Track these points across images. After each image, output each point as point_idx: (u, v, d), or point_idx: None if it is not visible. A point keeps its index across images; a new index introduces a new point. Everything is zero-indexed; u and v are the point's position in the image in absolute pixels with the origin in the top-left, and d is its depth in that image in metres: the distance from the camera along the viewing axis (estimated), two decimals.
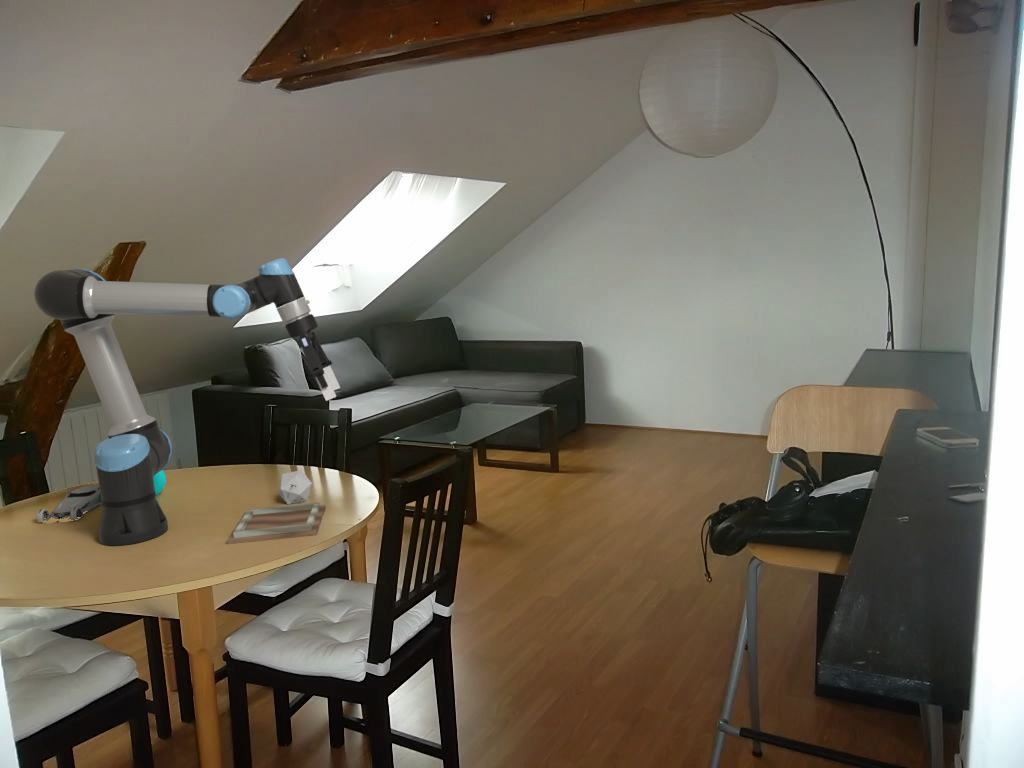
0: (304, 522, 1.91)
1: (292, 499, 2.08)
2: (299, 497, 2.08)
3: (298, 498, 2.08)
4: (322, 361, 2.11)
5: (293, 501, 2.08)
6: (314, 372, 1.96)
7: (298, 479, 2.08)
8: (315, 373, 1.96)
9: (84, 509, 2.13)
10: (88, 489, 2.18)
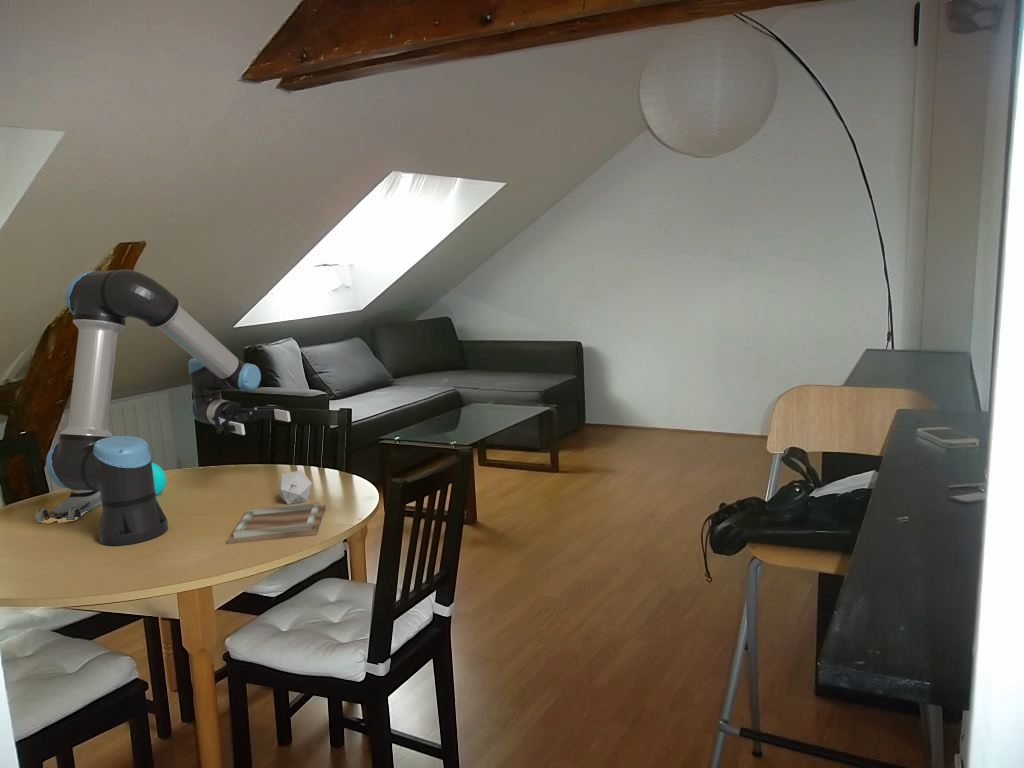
0: (304, 522, 1.91)
1: (292, 499, 2.08)
2: (299, 497, 2.08)
3: (298, 498, 2.08)
4: None
5: (293, 501, 2.08)
6: None
7: (298, 479, 2.08)
8: (283, 409, 2.24)
9: (84, 509, 2.13)
10: None
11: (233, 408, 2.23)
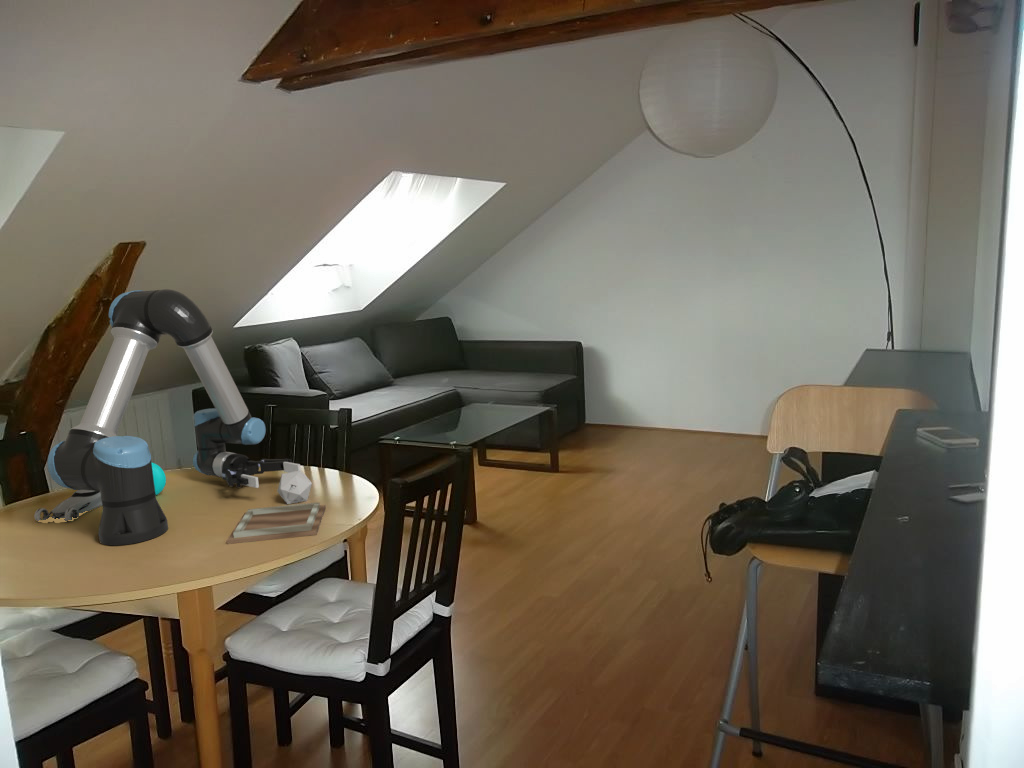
0: (304, 522, 1.91)
1: (292, 499, 2.08)
2: (299, 497, 2.08)
3: (298, 498, 2.08)
4: None
5: (293, 501, 2.08)
6: None
7: (298, 479, 2.08)
8: None
9: (83, 509, 2.13)
10: (91, 490, 2.18)
11: (241, 461, 2.26)
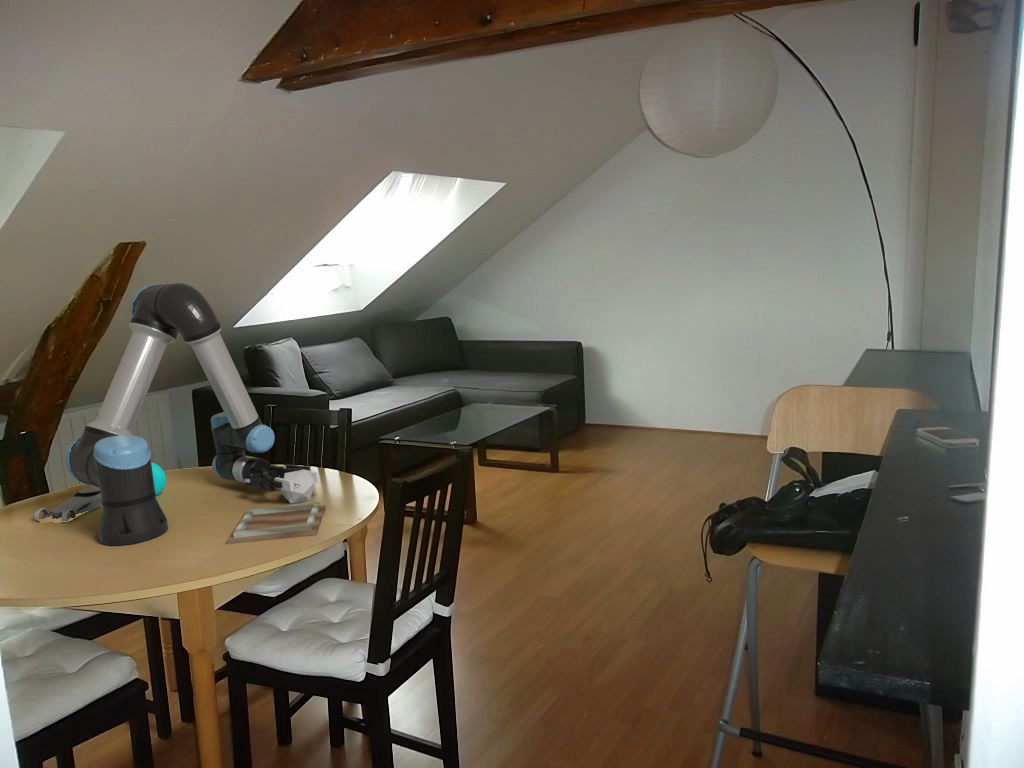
0: (304, 522, 1.91)
1: (295, 498, 2.08)
2: (302, 496, 2.08)
3: (301, 497, 2.09)
4: None
5: (296, 500, 2.09)
6: None
7: (301, 478, 2.08)
8: None
9: (82, 510, 2.12)
10: (93, 490, 2.18)
11: (261, 465, 2.19)
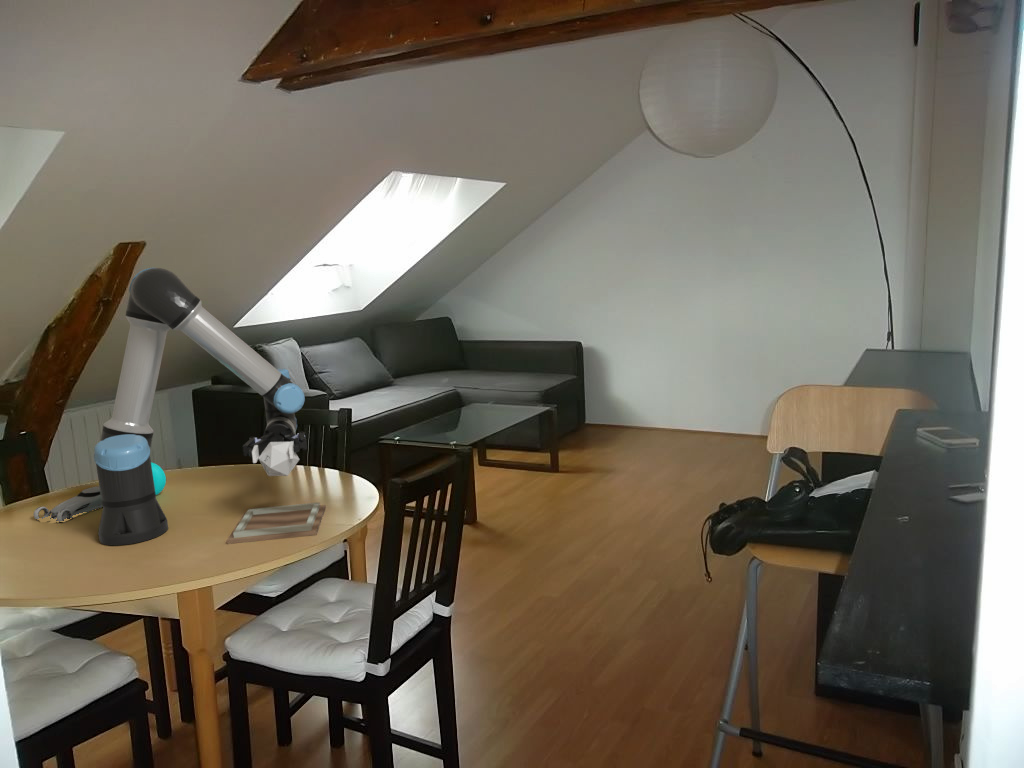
0: (304, 522, 1.91)
1: (268, 471, 1.90)
2: (273, 470, 1.89)
3: (273, 471, 1.90)
4: (259, 448, 1.95)
5: (271, 473, 1.91)
6: None
7: (274, 451, 1.89)
8: (306, 442, 1.96)
9: (81, 510, 2.12)
10: (95, 490, 2.17)
11: (279, 429, 2.05)
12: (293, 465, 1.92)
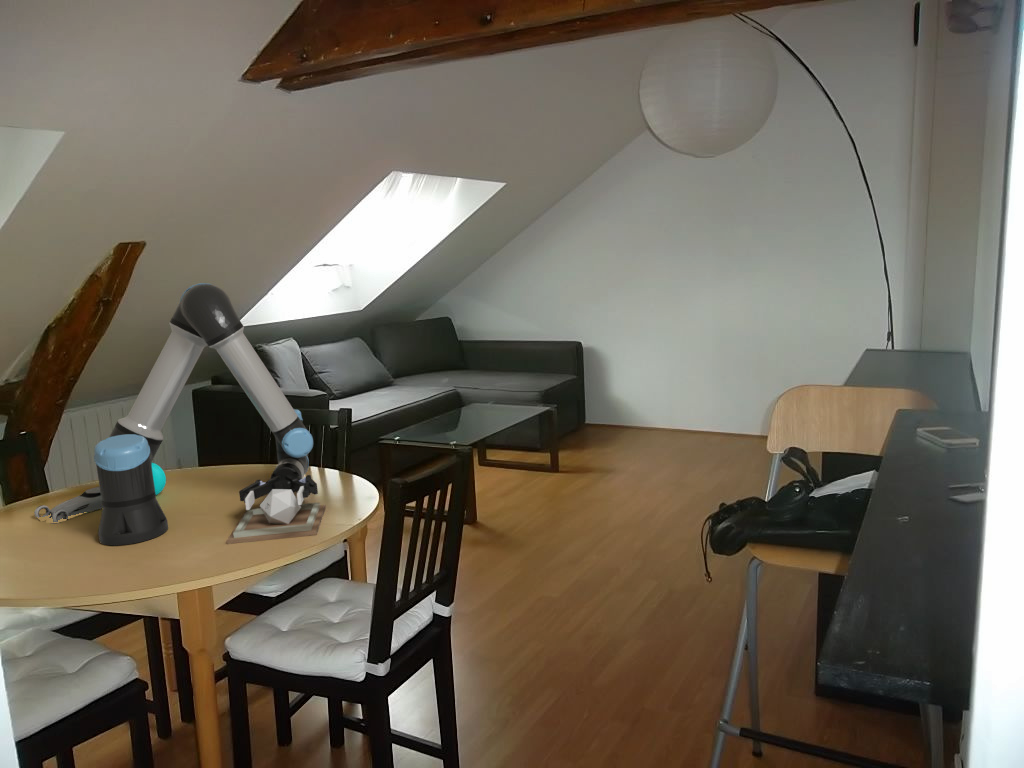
0: (304, 522, 1.91)
1: (269, 519, 1.90)
2: (273, 519, 1.89)
3: (274, 519, 1.89)
4: (257, 493, 1.96)
5: (272, 521, 1.91)
6: None
7: (274, 499, 1.89)
8: (316, 487, 1.96)
9: (80, 511, 2.12)
10: (96, 491, 2.17)
11: (285, 473, 2.05)
12: (294, 513, 1.92)
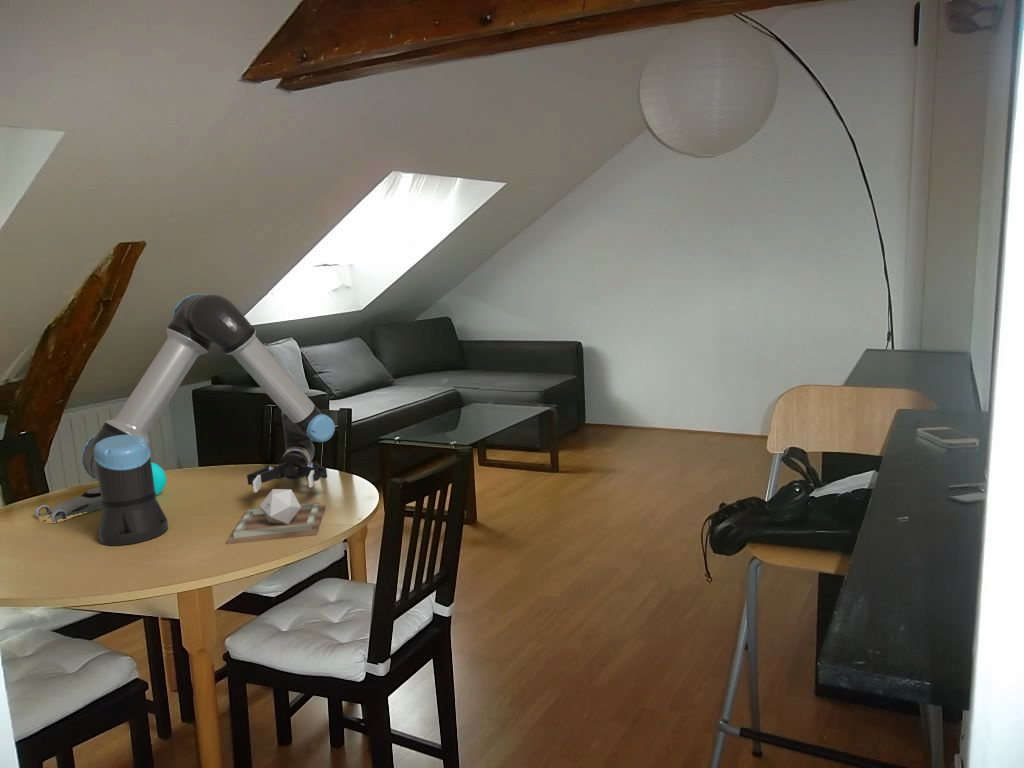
0: (304, 522, 1.91)
1: (269, 519, 1.90)
2: (273, 519, 1.89)
3: (274, 519, 1.89)
4: (264, 478, 2.09)
5: (272, 521, 1.91)
6: (326, 470, 2.10)
7: (274, 499, 1.89)
8: (326, 471, 2.10)
9: (79, 511, 2.12)
10: (97, 491, 2.17)
11: (293, 459, 2.18)
12: (294, 513, 1.92)
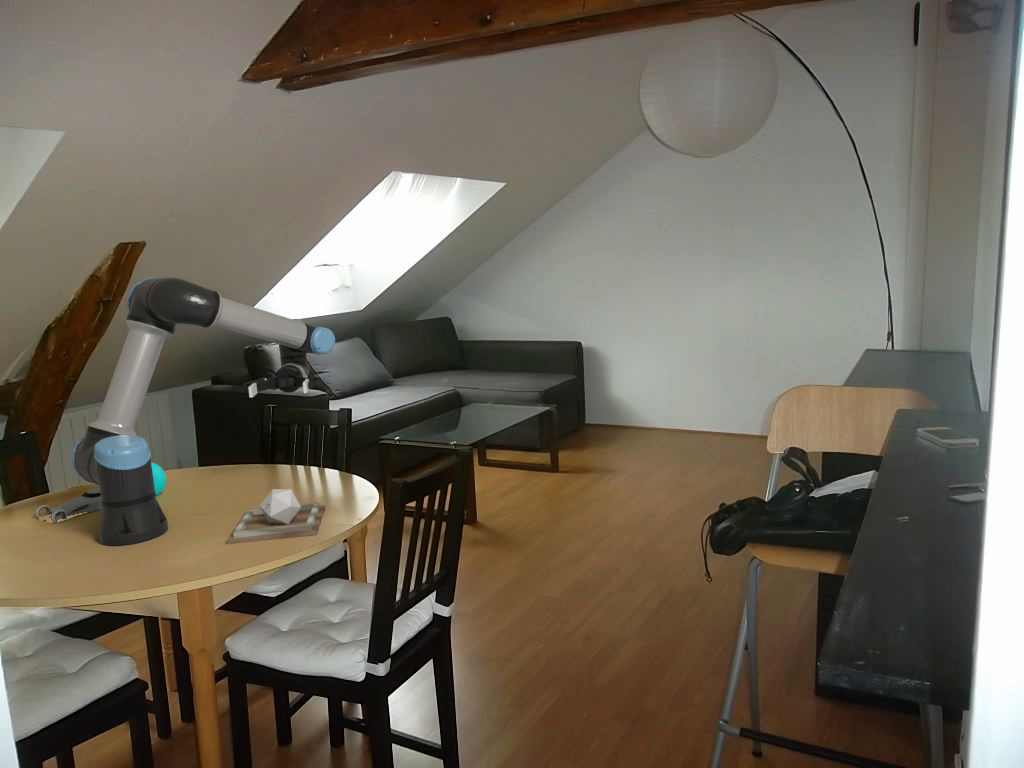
0: (304, 522, 1.91)
1: (269, 519, 1.90)
2: (273, 519, 1.89)
3: (274, 519, 1.89)
4: (260, 387, 2.13)
5: (272, 521, 1.91)
6: (320, 380, 2.14)
7: (274, 499, 1.89)
8: (320, 380, 2.14)
9: (80, 511, 2.12)
10: (97, 491, 2.17)
11: (288, 372, 2.22)
12: (294, 513, 1.92)
